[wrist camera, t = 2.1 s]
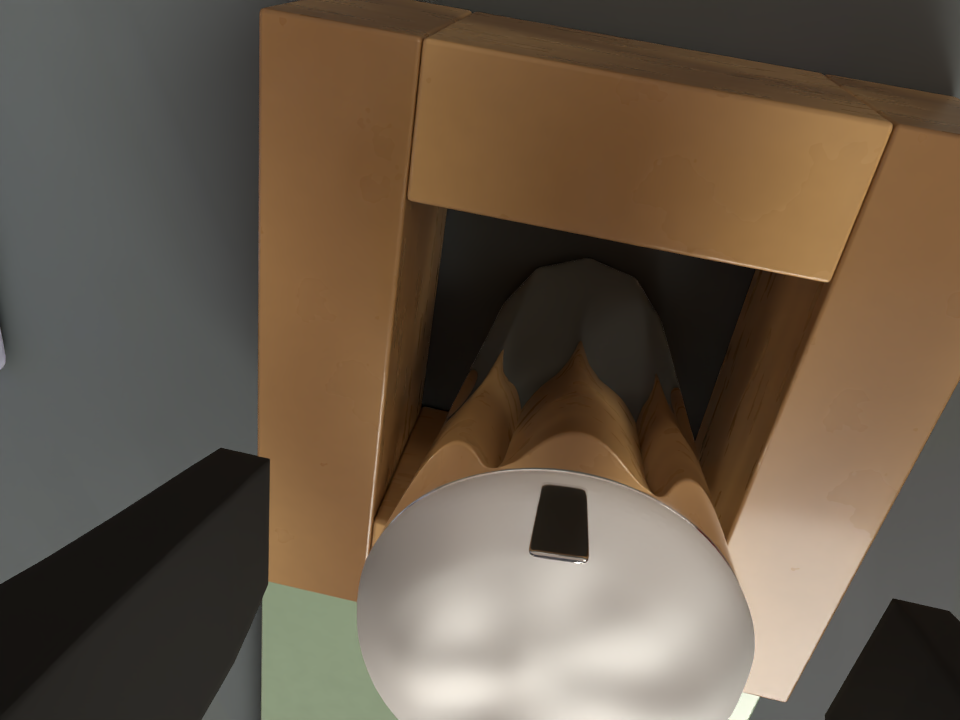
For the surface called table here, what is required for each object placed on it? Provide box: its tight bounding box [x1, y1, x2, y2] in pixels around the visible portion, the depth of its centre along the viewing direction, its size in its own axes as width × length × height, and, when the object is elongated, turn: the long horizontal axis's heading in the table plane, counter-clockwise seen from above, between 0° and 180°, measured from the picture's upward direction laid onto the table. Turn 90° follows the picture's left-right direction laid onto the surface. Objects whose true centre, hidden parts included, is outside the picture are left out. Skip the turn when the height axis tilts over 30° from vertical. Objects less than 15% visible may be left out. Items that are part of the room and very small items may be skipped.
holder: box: [258, 0, 960, 702], centre depth 14 cm, size 10×10×4 cm
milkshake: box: [357, 258, 755, 720], centre depth 11 cm, size 4×5×10 cm
